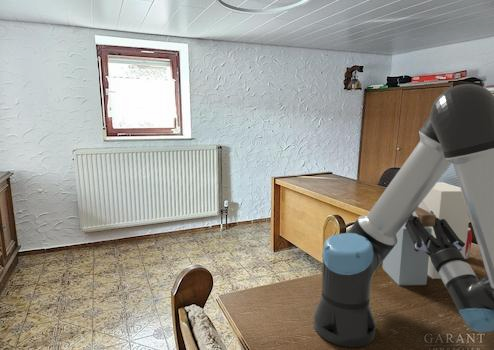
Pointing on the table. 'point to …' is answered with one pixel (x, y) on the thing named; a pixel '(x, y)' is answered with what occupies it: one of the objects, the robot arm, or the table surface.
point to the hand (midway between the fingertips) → (414, 205)
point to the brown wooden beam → (425, 217)
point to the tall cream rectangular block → (448, 214)
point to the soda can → (468, 243)
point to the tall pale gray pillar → (407, 260)
